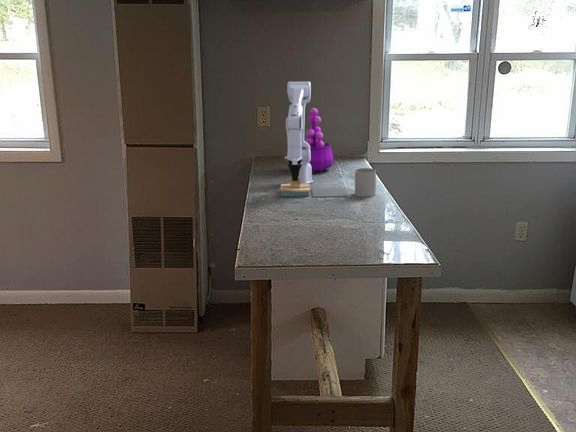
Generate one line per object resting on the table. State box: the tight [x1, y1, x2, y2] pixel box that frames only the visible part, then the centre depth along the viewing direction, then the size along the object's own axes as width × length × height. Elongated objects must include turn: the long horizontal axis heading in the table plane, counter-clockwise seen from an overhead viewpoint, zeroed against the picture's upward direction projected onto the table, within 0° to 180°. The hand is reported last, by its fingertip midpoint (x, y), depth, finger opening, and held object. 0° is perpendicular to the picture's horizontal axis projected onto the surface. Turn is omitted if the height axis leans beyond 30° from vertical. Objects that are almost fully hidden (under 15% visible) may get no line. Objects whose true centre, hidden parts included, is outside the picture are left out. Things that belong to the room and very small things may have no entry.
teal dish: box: [281, 192, 310, 198], centre depth 254 cm, size 11×11×2 cm
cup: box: [354, 167, 377, 198], centre depth 250 cm, size 8×8×10 cm
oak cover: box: [279, 175, 311, 193], centre depth 253 cm, size 12×12×5 cm
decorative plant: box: [302, 107, 334, 172], centre depth 294 cm, size 19×18×30 cm
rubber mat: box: [311, 187, 348, 198], centre depth 254 cm, size 14×14×1 cm
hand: (295, 178), depth 253 cm, fingers open, 7 cm apart
